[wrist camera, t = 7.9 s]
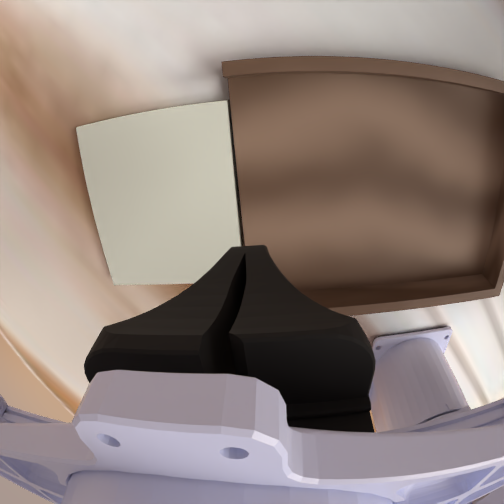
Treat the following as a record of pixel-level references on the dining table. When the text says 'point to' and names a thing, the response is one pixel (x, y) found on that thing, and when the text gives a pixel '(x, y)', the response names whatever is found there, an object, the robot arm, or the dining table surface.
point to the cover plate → (163, 191)
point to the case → (372, 178)
